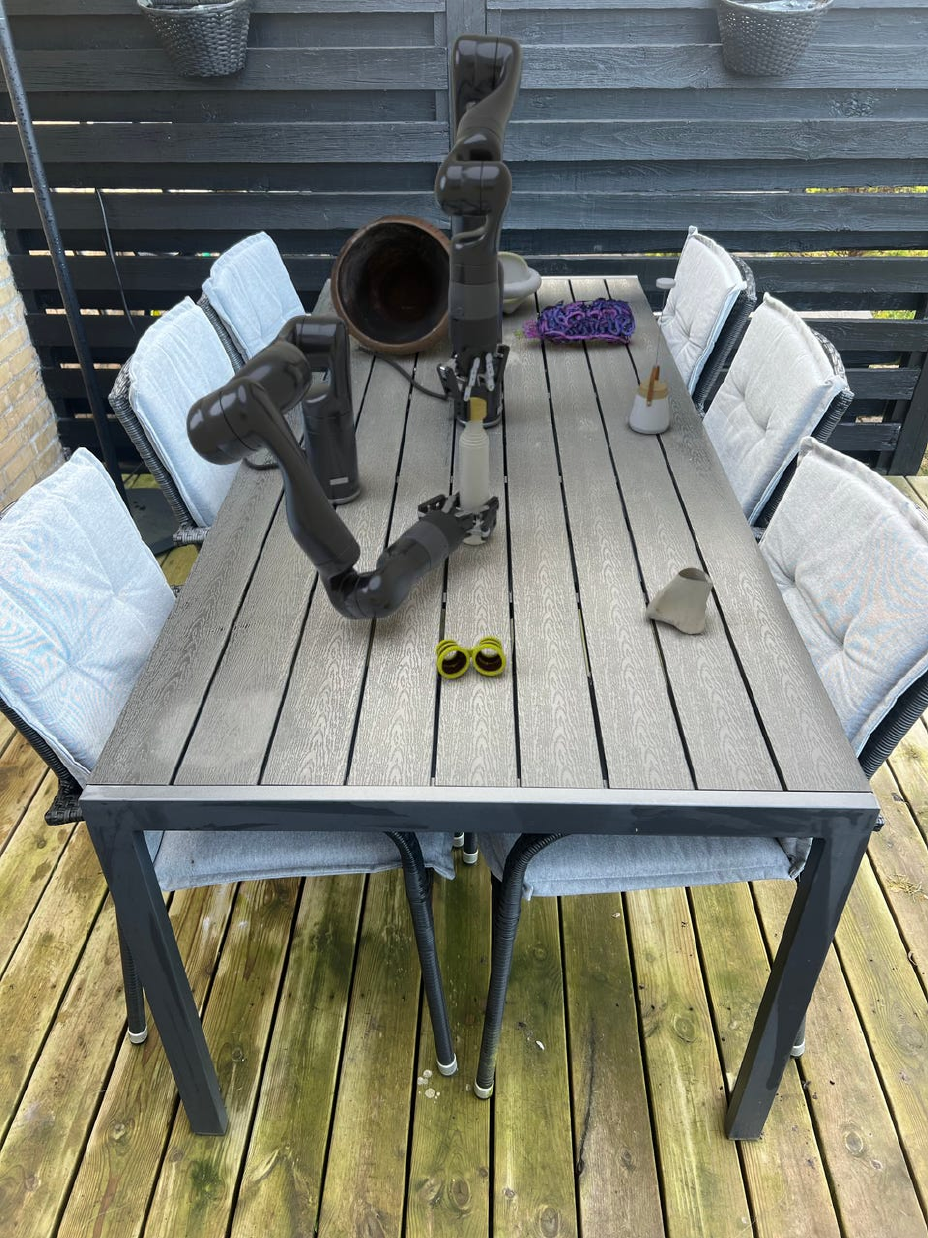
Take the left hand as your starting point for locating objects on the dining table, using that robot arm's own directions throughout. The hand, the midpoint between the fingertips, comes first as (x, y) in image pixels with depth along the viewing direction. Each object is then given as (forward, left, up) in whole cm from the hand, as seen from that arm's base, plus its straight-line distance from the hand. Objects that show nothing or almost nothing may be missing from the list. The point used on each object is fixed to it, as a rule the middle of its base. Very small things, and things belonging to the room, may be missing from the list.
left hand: (482, 496), depth 159 cm
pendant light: (+9, +53, -7) cm, 54 cm away
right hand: (0, -3, +16) cm, 16 cm away
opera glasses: (+18, -33, -7) cm, 38 cm away
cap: (0, -3, +18) cm, 18 cm away
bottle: (0, -3, -7) cm, 7 cm away
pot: (-64, +69, -7) cm, 94 cm away
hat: (-53, +99, -7) cm, 113 cm away
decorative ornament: (-25, +86, -7) cm, 90 cm away
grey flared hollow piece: (+39, -8, -7) cm, 40 cm away
